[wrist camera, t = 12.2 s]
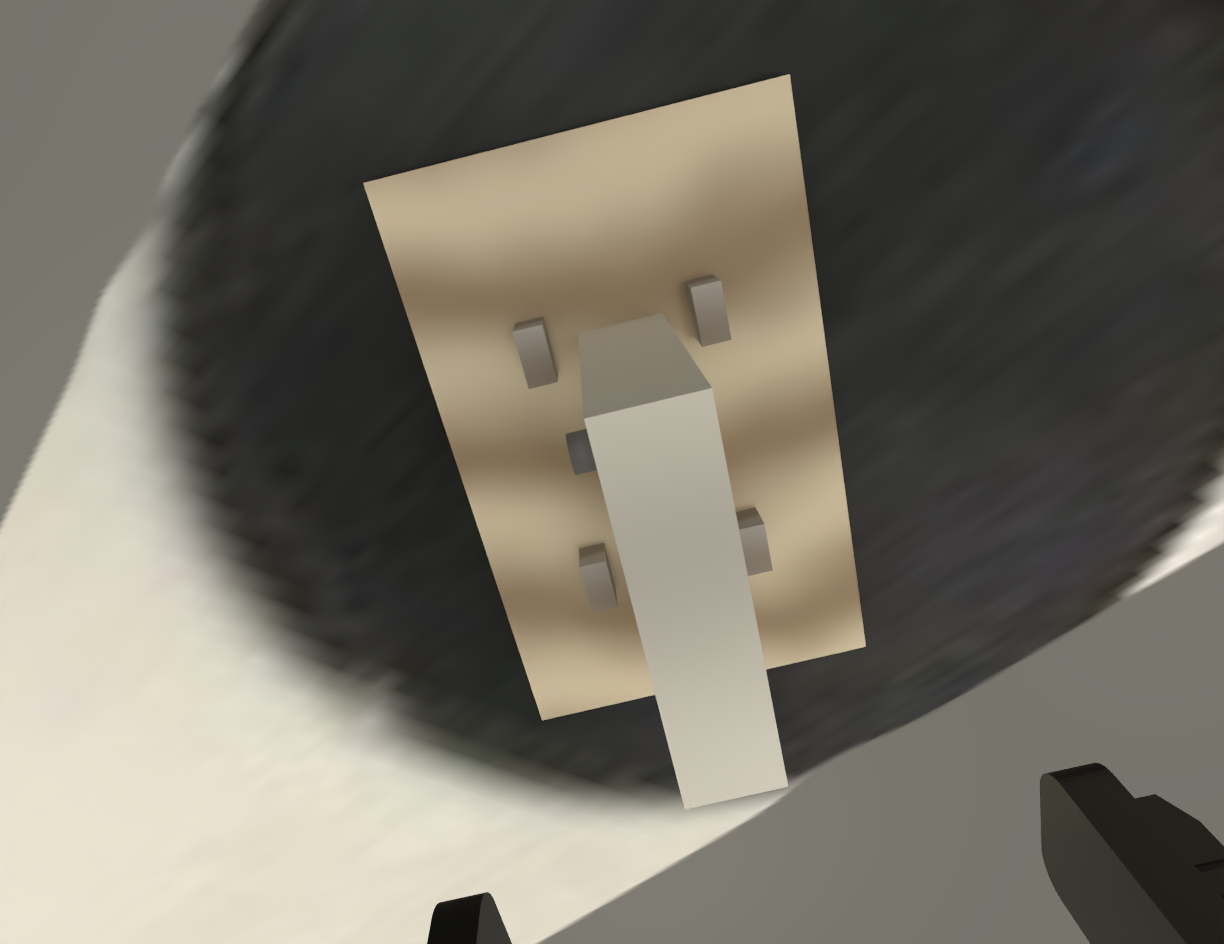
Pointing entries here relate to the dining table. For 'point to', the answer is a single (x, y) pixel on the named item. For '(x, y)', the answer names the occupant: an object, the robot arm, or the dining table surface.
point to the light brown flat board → (616, 293)
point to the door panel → (680, 555)
